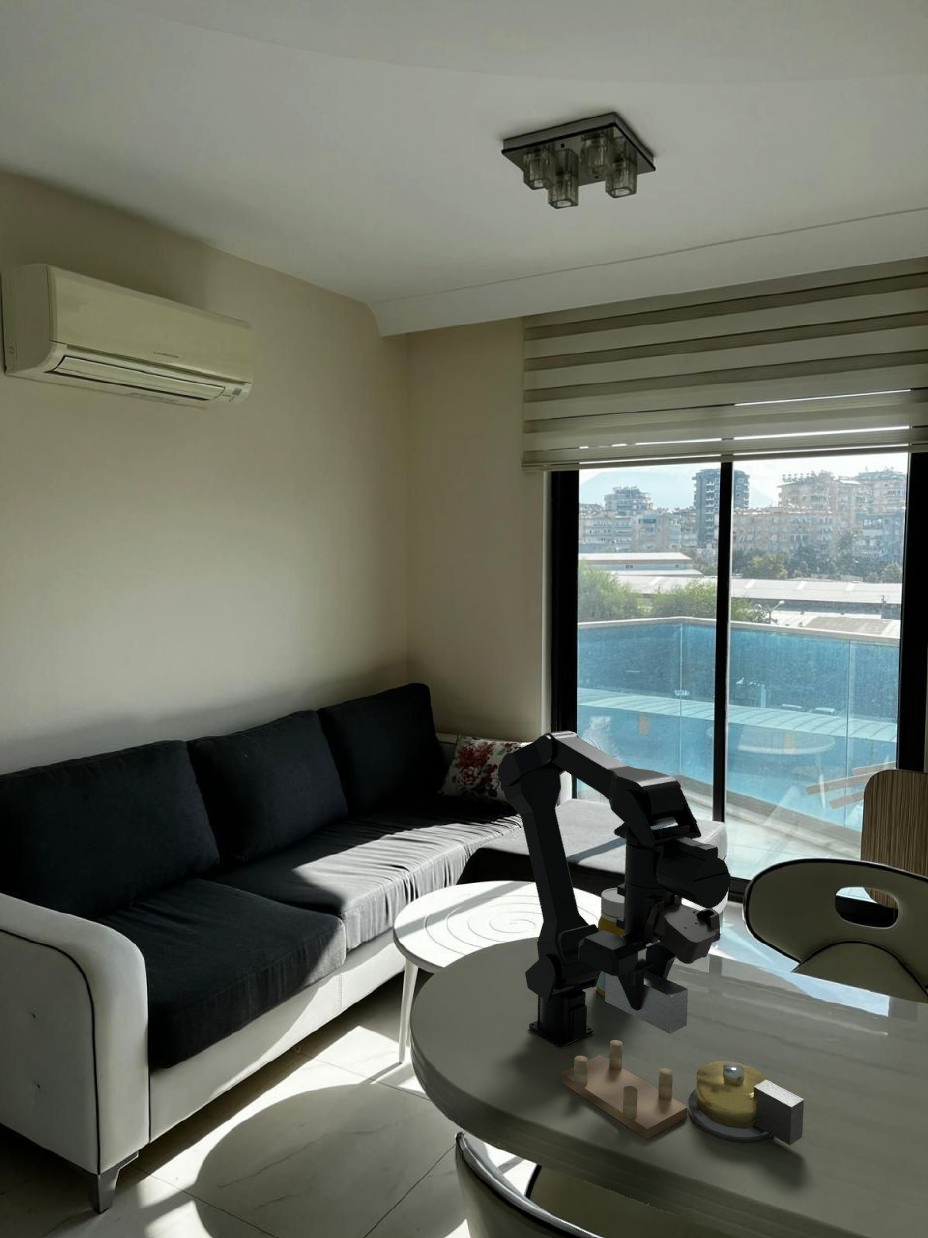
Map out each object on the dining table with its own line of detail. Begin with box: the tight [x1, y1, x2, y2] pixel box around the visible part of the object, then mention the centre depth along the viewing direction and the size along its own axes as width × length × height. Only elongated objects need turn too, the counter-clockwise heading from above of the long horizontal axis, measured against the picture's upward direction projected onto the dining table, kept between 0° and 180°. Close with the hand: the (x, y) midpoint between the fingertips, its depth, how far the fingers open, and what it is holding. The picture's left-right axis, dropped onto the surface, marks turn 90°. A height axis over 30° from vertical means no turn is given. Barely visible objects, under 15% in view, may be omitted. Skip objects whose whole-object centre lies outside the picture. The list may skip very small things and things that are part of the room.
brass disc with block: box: [695, 1060, 805, 1146], centre depth 108 cm, size 13×8×4 cm
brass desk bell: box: [687, 1062, 772, 1143], centre depth 109 cm, size 10×10×6 cm
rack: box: [560, 1039, 688, 1140], centre depth 112 cm, size 14×8×4 cm, turn 38°
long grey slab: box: [604, 971, 689, 1035], centre depth 113 cm, size 10×3×4 cm, turn 40°
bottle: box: [595, 887, 625, 998], centre depth 139 cm, size 7×7×15 cm
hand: (644, 1004), depth 113 cm, fingers closed on long grey slab, 3 cm apart
